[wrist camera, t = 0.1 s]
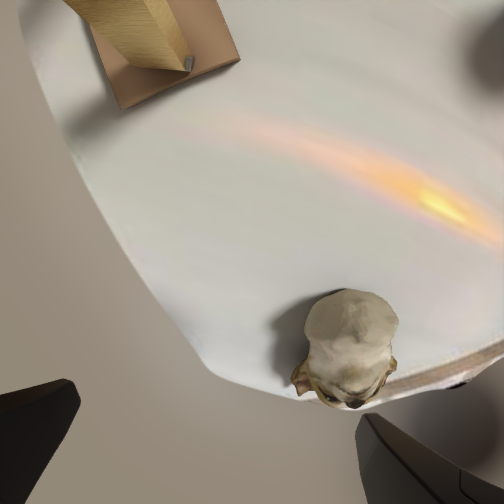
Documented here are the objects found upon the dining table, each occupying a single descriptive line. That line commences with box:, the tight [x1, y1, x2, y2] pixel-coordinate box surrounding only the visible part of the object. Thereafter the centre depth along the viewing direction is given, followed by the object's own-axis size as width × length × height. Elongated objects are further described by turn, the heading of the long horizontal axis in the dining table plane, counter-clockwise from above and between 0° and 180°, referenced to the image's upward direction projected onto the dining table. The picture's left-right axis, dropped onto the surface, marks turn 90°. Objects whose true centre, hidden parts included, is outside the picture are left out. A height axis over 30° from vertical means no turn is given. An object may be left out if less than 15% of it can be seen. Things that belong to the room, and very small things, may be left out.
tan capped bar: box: [63, 0, 195, 72], centre depth 9 cm, size 2×4×12 cm, turn 78°
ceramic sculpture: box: [291, 289, 399, 409], centre depth 23 cm, size 11×9×15 cm
